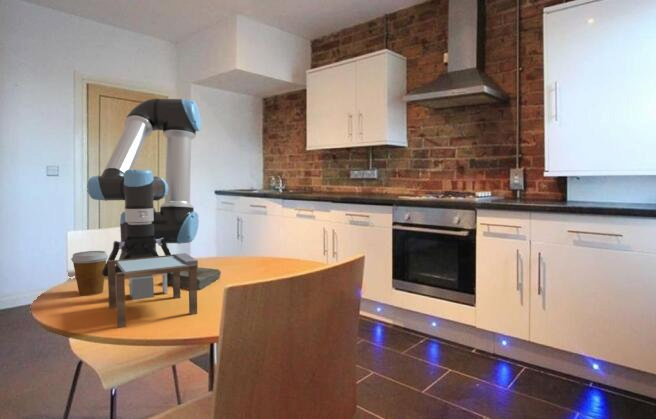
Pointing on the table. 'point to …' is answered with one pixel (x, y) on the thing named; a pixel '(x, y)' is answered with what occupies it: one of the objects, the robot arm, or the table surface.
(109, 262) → the walnut frame
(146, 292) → the granite block
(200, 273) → the marble piece
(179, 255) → the trapdoor
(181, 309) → the table surface
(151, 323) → the table surface
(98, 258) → the disposable coffee cup
